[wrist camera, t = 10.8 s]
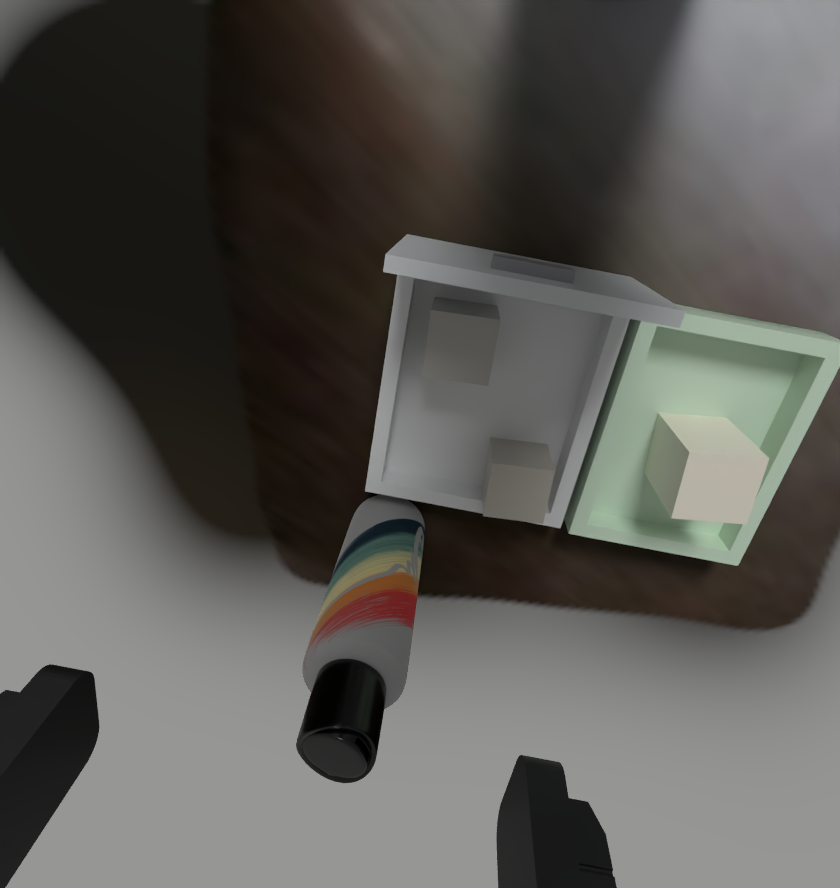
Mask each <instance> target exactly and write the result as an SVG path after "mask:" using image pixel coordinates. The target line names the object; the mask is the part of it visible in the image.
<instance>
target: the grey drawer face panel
mask: <svg viewBox="0 0 840 888" xmlns="http://www.w3.org/2000/svg"><path fill="white" fill-rule="evenodd" d="M383 272H387V273H392V274H397V275H402V276H408V277H413V278H418V279H423V280H429V281H434V282H439V283H444V284H450V285H455V286H460V287H466V288H471V289H476V290H481V291H487V292H492V293H497V294H502V295H508V296H513V297H518V298H523V299H529V300H534V301H539V302H544V303H550V304H555V305H560V306H565V307H571V308H576V309H581V310H586V311H592V312H597V313H602V314H607V315H613V316H618V317H623V318H628V319H634V320H639V321H644V322H649V323H655V324H660V325H665V326H670V327H676V328H680V326H681V323H682V321H683V318H684V315H685V313H686V311H685V310H683V309H682V308H680V307H678V306H677V305H675V304H674V303H672V302H670V301H669V300H667V299H666V298H664V297H662V296H661V295H659V294H658V293H656V292H654V291H653V290H651V289H650V288H648V287H646V286H645V285H643V284H642V283H640V282H638V281H637V280H635V279H634V278H632V277H629V276H624V275H619V274H614V273H608V272H603V271H598V270H593V269H587V268H582V267H577V266H572V265H566V264H561V263H556V262H551V261H545V260H540V259H535V258H530V257H524V256H519V255H514V254H509V253H503V252H498V251H493V250H488V249H482V248H477V247H472V246H466V245H461V244H456V243H451V242H445V241H440V240H435V239H430V238H424V237H419V236H414V235H409V234H407V235H406V236H405V237H404V238H403V239H402V240H400V241H399V242H398V243H397V244H396V245H395V246H394V247H393V248H392V249H391V250H390V251H388V252H387V253H386V255H385V262H384V269H383Z"/></svg>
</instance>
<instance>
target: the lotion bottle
mask: <svg viewBox="0 0 840 888" xmlns="http://www.w3.org/2000/svg"><path fill="white" fill-rule="evenodd" d="M424 537H425V524H424V520H423V517H422V515H421V513H420V511H419V510H418V508H417V507H416V506H415V505H414V504H413V503H411V502H410V501H408V500H407V499H403V498H398V497H393V496H387V495H377V496H374V497H371V498H369V499H367V500H366V501H364V502H363V503H362V504H361V505H360V506H359V507H358V509H357V510H356V512H355V514H354V516H353V518H352V521H351V523H350V526H349V529H348V532H347V535H346V538H345V540H344V543H343V546H342V549H341V552H340V555H339V558H338V561H337V564H336V566H335V569H334V572H333V575H332V578H331V581H330V584H329V587H328V590H327V593H326V595H325V598H324V601H323V604H322V607H321V610H320V613H319V616H318V618H317V622H316V625H315V627H314V630H313V633H312V636H311V639H310V642H309V645H308V648H307V651H306V655H305V658H304V661H303V677H304V680H305V683H306V685H307V687H308V688H309V690H310V691H311V696H310V699H309V702H308V706H307V709H306V712H305V715H304V719H303V722H302V726H301V728H300V732H299V735H298V739H297V743H296V747H297V750H298V753H299V754H300V756H301V757H302V759H303V760H304V761H305V762H306V764H308V766H310V767H311V768H312V769H313V770H314V771H316V772H317V773H318V774H320V775H322V776H323V777H325V778H327V779H330V780H333V781H335V782H341V783H351V782H356V781H358V780H360V779H362V778H364V777H365V776H366V775H367V774H368V773H369V772H370V771H371V769H372V767H373V766H374V763H375V760H376V755H377V750H378V743H379V737H380V730H381V725H382V719H383V712H384V709H385V708H387V707H389V706H390V705H392V704H393V703H394V702H395V701H396V700H397V699H398V698H399V697H400V695H401V694H402V692H403V689H404V686H405V683H406V678H407V671H408V663H409V656H410V648H411V641H412V633H413V624H414V617H415V609H416V601H417V593H418V586H419V578H420V570H421V562H422V554H423V546H424Z"/></svg>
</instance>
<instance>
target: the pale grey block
mask: <svg viewBox="0 0 840 888" xmlns="http://www.w3.org/2000/svg"><path fill="white" fill-rule="evenodd" d="M554 473H555V469H554V466H553V462H552V459H551V455H550V452H549V448H548V445H547V444H542V443H534V442H526V441H518V440H509V439H501V438H493V437H490V440H489V447H488V453H487V459H486V465H485V471H484V477H483V483H482V504H483V516H485V517H493V518H501V519H509V520H517V521H525V522H533V523H541V524H543V522H544V517H545V513H546V508H547V504H548V500H549V495H550V491H551V486H552V482H553V477H554Z"/></svg>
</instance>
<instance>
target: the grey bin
mask: <svg viewBox="0 0 840 888" xmlns="http://www.w3.org/2000/svg"><path fill="white" fill-rule="evenodd" d="M435 297H441V298H448V299H455V300H462V301H469V302H476V303H483V304H490V305H497V306H498V310H499V315H500V325H499V331H498V336H497V342H496V347H495V352H494V358H493V363H492V368H491V374H490V379H489V384H488V386H484V385H478V384H471V383H464V382H457V381H450V380H443V379H436V378H429V377H423V376H422V373H423V365H424V358H425V350H426V343H427V335H428V327H429V320H430V312H431V308H432V304H433V301H434V298H435ZM629 321H630V319H628V318H623V317H618V316H613V315H607V314H602V313H597V312H592V311H586V310H581V309H576V308H571V307H565V306H560V305H555V304H550V303H544V302H539V301H534V300H529V299H523V298H518V297H513V296H508V295H502V294H497V293H492V292H487V291H481V290H476V289H471V288H466V287H460V286H455V285H450V284H444V283H439V282H434V281H429V280H423V279H418V278H413V277H408V276H402V275H397V282H396V288H395V295H394V301H393V308H392V315H391V321H390V328H389V335H388V341H387V348H386V355H385V361H384V368H383V375H382V381H381V388H380V395H379V401H378V408H377V415H376V421H375V428H374V435H373V441H372V448H371V455H370V461H369V468H368V475H367V481H366V488H365V491H366V492H372V493H377V494H382V495H387V496H393V497H398V498H403V499H408V500H414V501H419V502H424V503H429V504H435V505H440V506H445V507H450V508H456V509H461V510H466V511H472V512H477V513H482V514H483V504H482V483H483V477H484V471H485V465H486V459H487V453H488V447H489V440H490V437H493V438H501V439H509V440H518V441H526V442H534V443H542V444H547V445H548V448H549V452H550V455H551V459H552V462H553V466H554V469H555V473H554V477H553V482H552V486H551V491H550V495H549V500H548V504H547V508H546V513H545V517H544V522H543V524H541V523H535V524H540V525H545V526H551V527H556V528H561V525H562V522H563V519H564V516H565V513H566V510H567V507H568V504H569V501H570V498H571V495H572V492H573V489H574V486H575V483H576V480H577V477H578V474H579V471H580V468H581V465H582V462H583V459H584V456H585V453H586V450H587V447H588V444H589V441H590V438H591V435H592V432H593V429H594V426H595V423H596V420H597V417H598V414H599V411H600V408H601V405H602V402H603V399H604V396H605V393H606V390H607V387H608V384H609V381H610V378H611V375H612V372H613V369H614V366H615V363H616V360H617V357H618V354H619V351H620V348H621V345H622V342H623V339H624V336H625V333H626V330H627V327H628V324H629ZM524 522H525V521H524ZM529 523H533V522H529Z"/></svg>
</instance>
